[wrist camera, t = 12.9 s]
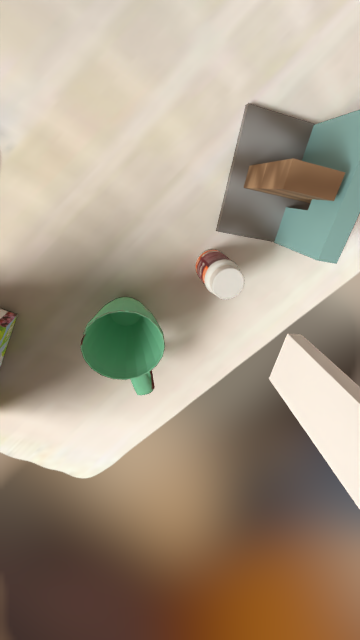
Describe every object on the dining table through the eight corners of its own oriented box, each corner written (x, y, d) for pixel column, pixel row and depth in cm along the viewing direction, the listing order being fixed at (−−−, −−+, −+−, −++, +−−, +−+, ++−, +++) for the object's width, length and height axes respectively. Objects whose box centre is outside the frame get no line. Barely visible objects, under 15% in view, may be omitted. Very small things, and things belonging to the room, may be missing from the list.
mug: (81, 292, 37) (64, 326, 28) (146, 272, 37) (150, 299, 28) (118, 368, 44) (115, 414, 35) (173, 351, 44) (183, 392, 35)
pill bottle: (190, 255, 37) (204, 273, 29) (221, 244, 37) (243, 258, 29) (199, 285, 39) (214, 308, 32) (228, 274, 39) (250, 294, 32)
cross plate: (313, 124, 31) (384, 101, 22) (331, 130, 31) (407, 109, 23) (274, 242, 37) (317, 260, 28) (289, 245, 37) (336, 263, 29)
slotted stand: (245, 105, 30) (298, 67, 20) (382, 147, 34) (478, 133, 25) (216, 230, 36) (245, 246, 26) (335, 252, 40) (397, 273, 31)
